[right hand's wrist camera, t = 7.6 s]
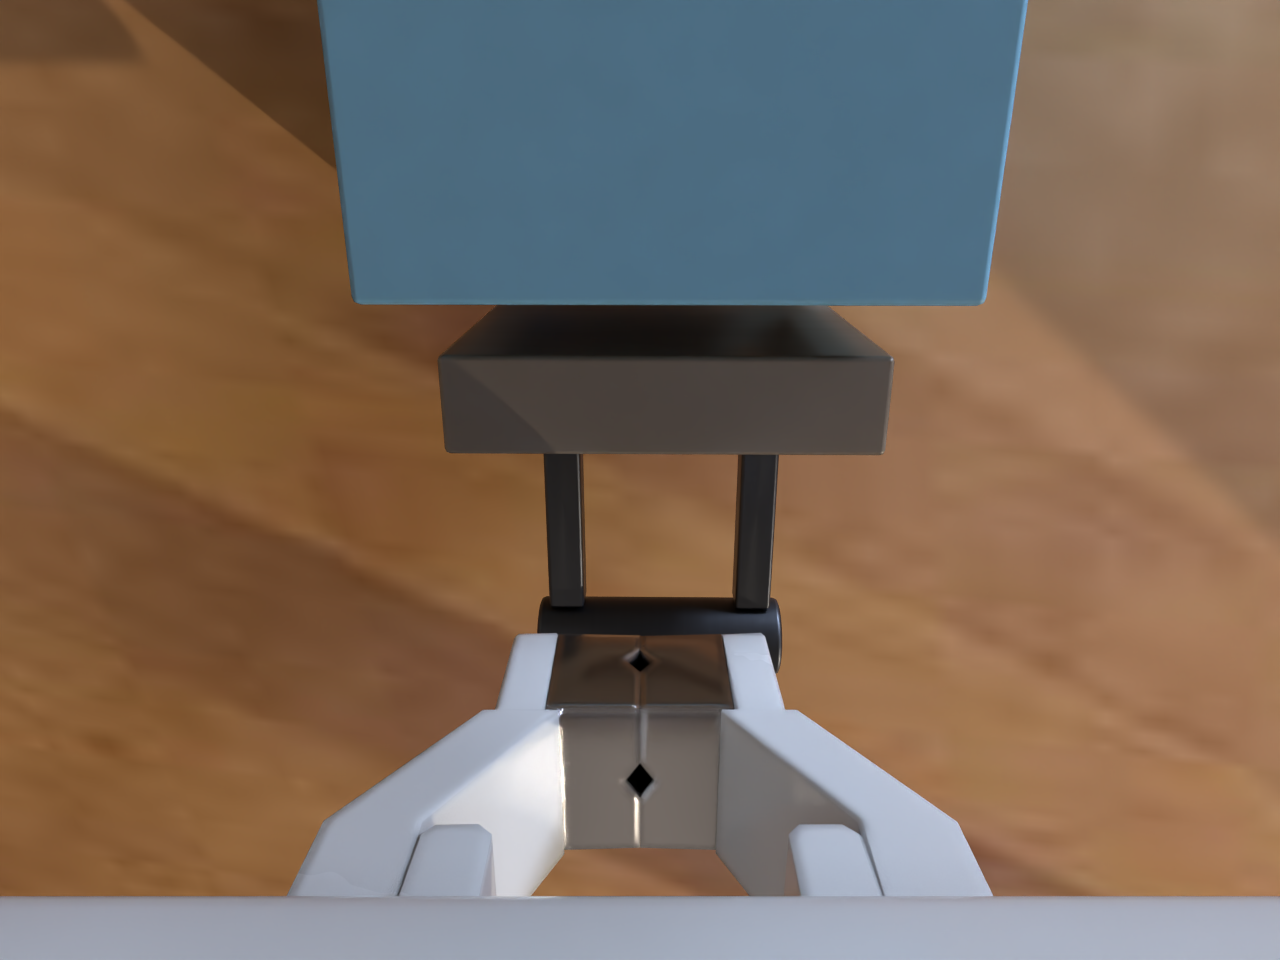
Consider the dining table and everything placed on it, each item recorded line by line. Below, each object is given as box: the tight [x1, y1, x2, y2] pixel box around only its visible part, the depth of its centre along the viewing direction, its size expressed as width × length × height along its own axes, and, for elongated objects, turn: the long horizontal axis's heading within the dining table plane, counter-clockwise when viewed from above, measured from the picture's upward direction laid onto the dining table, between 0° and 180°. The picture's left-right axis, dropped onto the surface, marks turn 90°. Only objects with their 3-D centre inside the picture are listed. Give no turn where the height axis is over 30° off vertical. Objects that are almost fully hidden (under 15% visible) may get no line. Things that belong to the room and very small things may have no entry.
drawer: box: [437, 305, 894, 674], centre depth 12 cm, size 20×5×7 cm, turn 0°
